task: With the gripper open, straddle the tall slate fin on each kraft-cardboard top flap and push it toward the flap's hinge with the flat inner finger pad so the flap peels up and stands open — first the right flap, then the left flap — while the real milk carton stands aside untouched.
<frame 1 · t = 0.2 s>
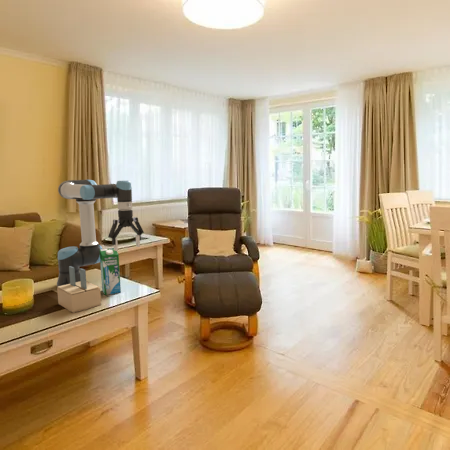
hand: (127, 248, 197), 28 cm above the table, fingers open, 13 cm apart
carton box: (79, 304, 191), on the table
milk carton: (111, 291, 212), on the table
flap 2: (84, 276, 192), point 15 cm above the table, hinge at 0.0°
flap 1: (70, 279, 187), point 15 cm above the table, hinge at 0.0°
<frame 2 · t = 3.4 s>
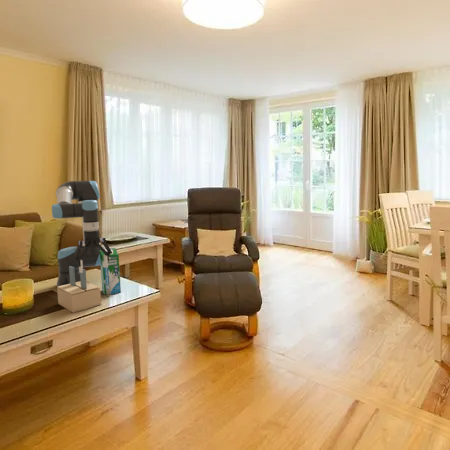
hand: (94, 269, 191), 18 cm above the table, fingers open, 13 cm apart
flap 2: (85, 276, 192), point 15 cm above the table, hinge at 0.5°, touching gripper
everything else where it was.
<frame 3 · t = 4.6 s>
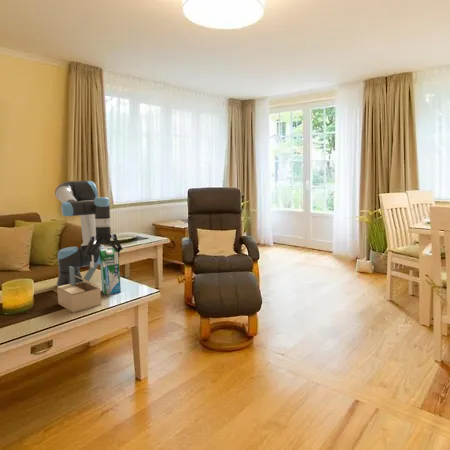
hand: (104, 265, 194), 19 cm above the table, fingers open, 13 cm apart
flap 2: (91, 272, 195), point 16 cm above the table, hinge at 37.0°, touching gripper
everything else where it was.
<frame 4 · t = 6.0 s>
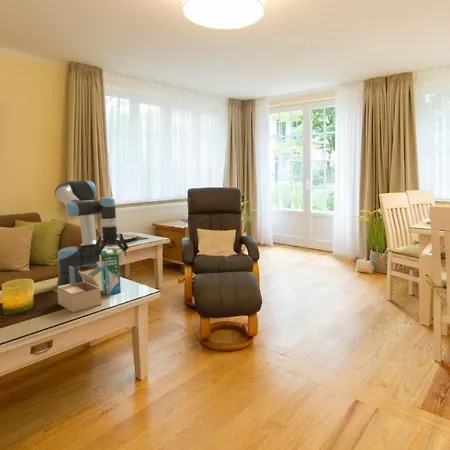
hand: (111, 264, 197), 19 cm above the table, fingers open, 13 cm apart
flap 2: (96, 272, 197), point 15 cm above the table, hinge at 62.6°, touching gripper
everything else where it was.
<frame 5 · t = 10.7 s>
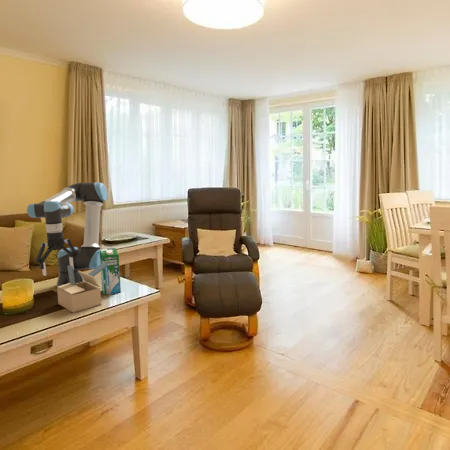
hand: (58, 272, 186), 18 cm above the table, fingers open, 13 cm apart
flap 2: (96, 272, 197), point 15 cm above the table, hinge at 63.0°
flap 1: (69, 279, 186), point 15 cm above the table, hinge at 4.4°, touching gripper
everything else where it was.
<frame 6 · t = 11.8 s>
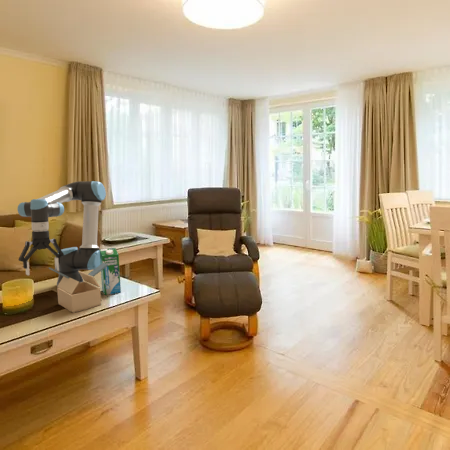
hand: (42, 272, 181), 20 cm above the table, fingers open, 13 cm apart
flap 1: (59, 280, 183), point 15 cm above the table, hinge at 51.9°, touching gripper
everything else where it was.
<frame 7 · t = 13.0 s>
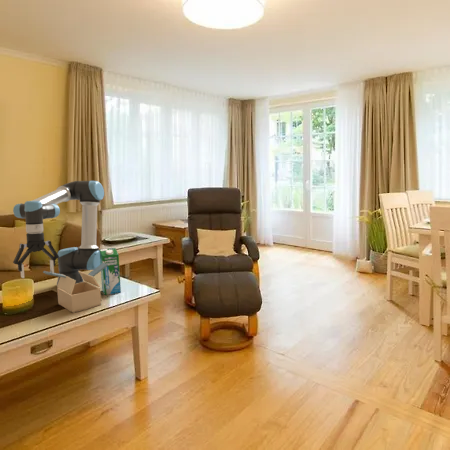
hand: (37, 275, 179), 19 cm above the table, fingers open, 13 cm apart
flap 1: (56, 282, 182), point 15 cm above the table, hinge at 67.0°, touching gripper
everything else where it was.
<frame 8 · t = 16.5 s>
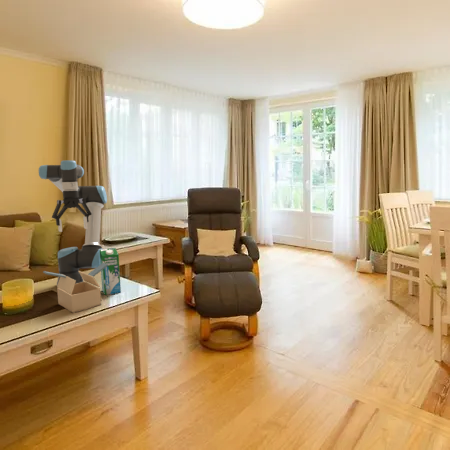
hand: (73, 230, 194), 39 cm above the table, fingers open, 13 cm apart
flap 1: (56, 282, 182), point 15 cm above the table, hinge at 67.0°
everything else where it was.
at the end: flap 2 at +63° (first picture: +0°); flap 1 at +67° (first picture: +0°) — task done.
